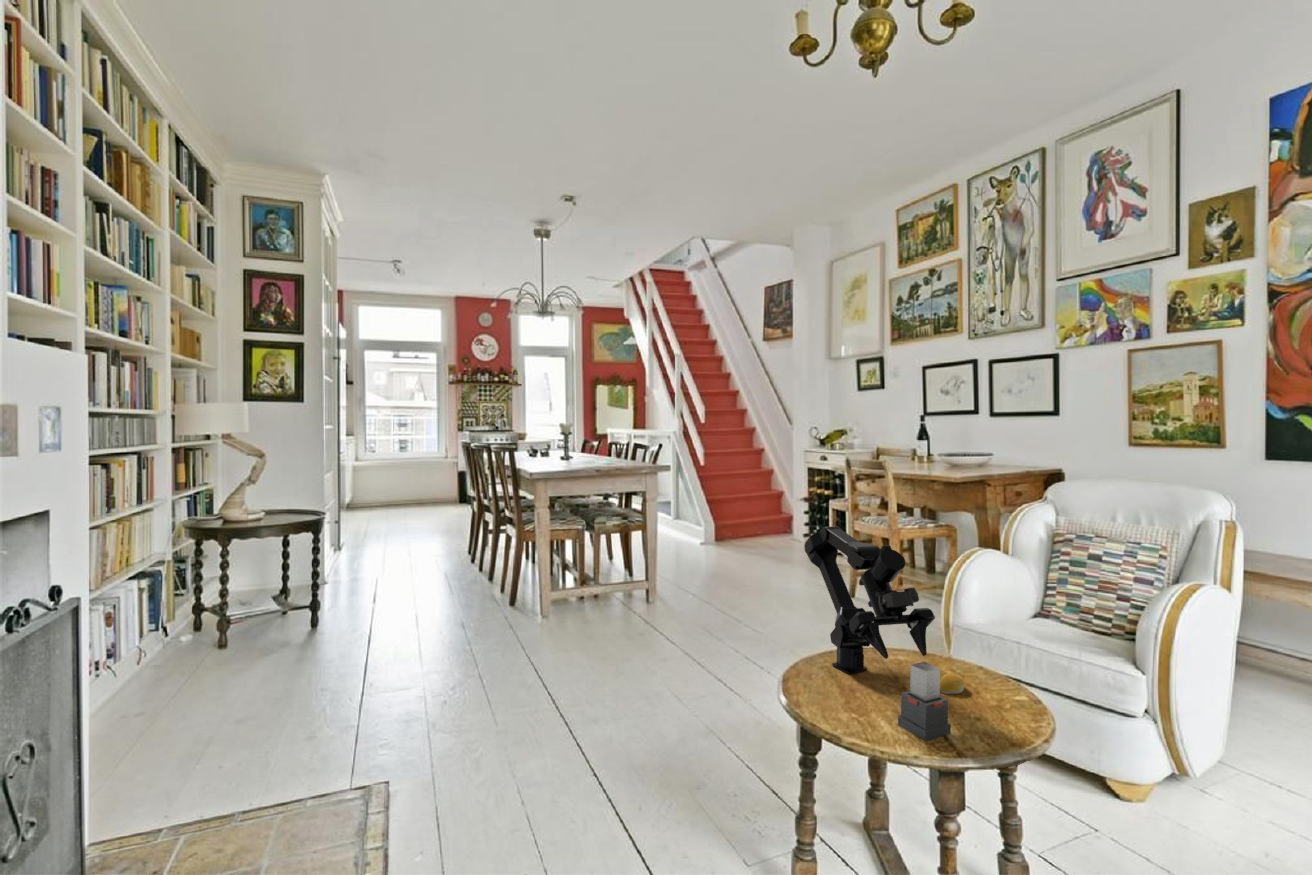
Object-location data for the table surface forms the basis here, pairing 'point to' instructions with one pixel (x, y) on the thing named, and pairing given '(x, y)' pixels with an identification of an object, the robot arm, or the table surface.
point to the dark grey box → (924, 717)
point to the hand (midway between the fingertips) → (906, 656)
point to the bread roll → (950, 683)
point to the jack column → (925, 682)
